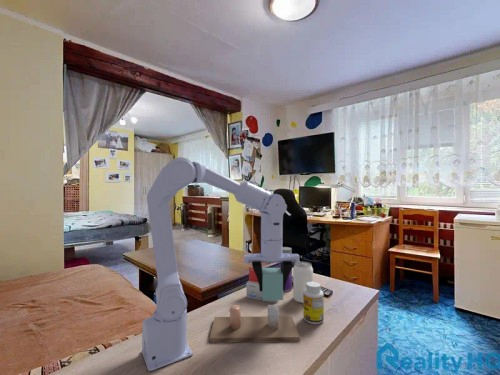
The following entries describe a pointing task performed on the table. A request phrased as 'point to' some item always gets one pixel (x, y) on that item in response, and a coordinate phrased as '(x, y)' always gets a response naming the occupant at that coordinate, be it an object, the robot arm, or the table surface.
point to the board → (254, 330)
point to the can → (301, 279)
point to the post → (273, 317)
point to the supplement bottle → (313, 303)
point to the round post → (235, 317)
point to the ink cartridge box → (254, 287)
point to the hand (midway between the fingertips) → (271, 289)
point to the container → (289, 280)
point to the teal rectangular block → (272, 284)
